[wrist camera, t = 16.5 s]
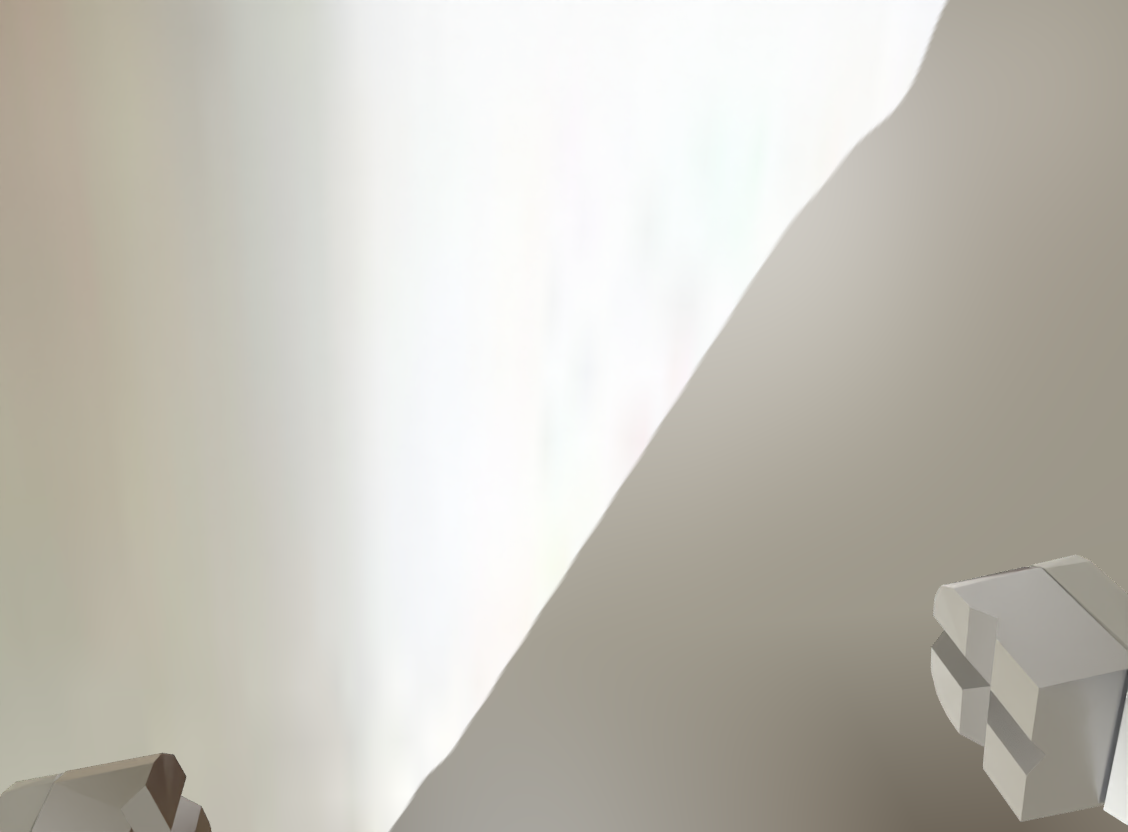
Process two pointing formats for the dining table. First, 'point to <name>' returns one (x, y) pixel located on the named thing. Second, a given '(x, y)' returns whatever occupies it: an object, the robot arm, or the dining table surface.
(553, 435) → the dining table surface
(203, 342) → the dining table surface
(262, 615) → the dining table surface
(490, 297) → the dining table surface
